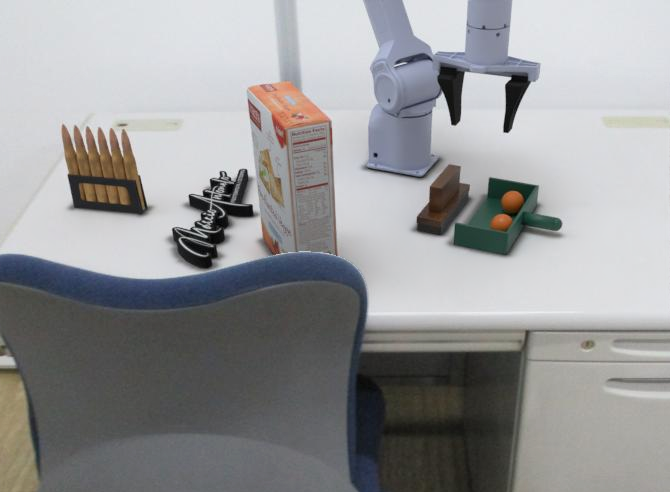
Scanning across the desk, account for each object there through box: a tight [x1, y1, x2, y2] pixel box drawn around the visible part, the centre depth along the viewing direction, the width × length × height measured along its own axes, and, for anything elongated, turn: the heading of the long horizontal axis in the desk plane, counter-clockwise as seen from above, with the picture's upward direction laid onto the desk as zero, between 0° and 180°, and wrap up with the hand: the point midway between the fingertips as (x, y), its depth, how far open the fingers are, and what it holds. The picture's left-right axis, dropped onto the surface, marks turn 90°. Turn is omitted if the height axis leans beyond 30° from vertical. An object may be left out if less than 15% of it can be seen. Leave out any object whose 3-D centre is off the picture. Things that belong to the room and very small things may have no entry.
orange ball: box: [501, 191, 524, 214], centre depth 118 cm, size 3×3×3 cm
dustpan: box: [453, 176, 563, 255], centre depth 115 cm, size 13×16×3 cm
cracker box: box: [246, 80, 338, 256], centre depth 102 cm, size 14×6×21 cm, turn 24°
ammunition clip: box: [60, 123, 149, 215], centre depth 117 cm, size 11×2×12 cm, turn 79°
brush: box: [416, 163, 471, 235], centre depth 117 cm, size 4×13×6 cm, turn 157°
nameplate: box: [171, 168, 254, 269], centre depth 117 cm, size 28×2×10 cm
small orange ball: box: [490, 214, 513, 232], centre depth 113 cm, size 3×3×3 cm
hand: (481, 126), depth 117 cm, fingers open, 7 cm apart
